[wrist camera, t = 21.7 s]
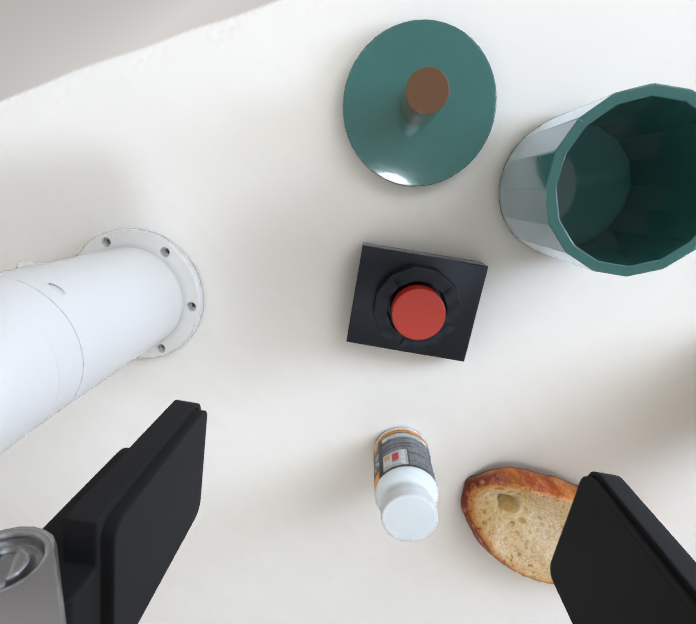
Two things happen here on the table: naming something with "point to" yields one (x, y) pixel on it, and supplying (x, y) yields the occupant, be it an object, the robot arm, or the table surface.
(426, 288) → the release button
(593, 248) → the canister
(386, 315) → the button housing
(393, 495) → the pill bottle
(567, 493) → the bread slice
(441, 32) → the lid
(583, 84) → the table surface
